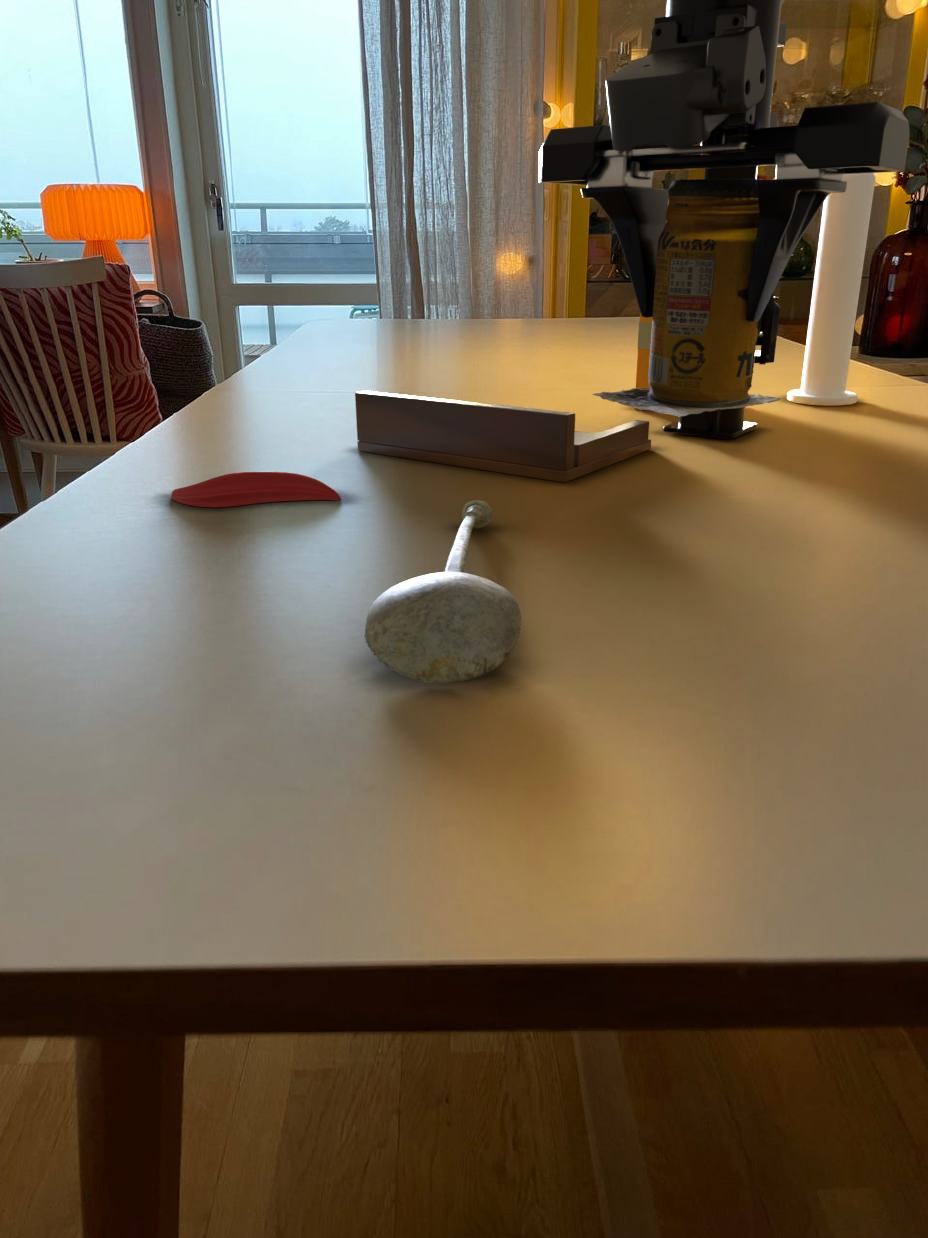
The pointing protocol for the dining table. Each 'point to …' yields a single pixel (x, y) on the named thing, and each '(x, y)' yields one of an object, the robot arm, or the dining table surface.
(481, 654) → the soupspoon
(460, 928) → the dining table surface
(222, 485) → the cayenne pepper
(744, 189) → the condiment
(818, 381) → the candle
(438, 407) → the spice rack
